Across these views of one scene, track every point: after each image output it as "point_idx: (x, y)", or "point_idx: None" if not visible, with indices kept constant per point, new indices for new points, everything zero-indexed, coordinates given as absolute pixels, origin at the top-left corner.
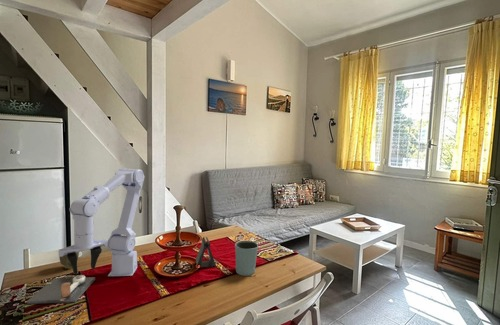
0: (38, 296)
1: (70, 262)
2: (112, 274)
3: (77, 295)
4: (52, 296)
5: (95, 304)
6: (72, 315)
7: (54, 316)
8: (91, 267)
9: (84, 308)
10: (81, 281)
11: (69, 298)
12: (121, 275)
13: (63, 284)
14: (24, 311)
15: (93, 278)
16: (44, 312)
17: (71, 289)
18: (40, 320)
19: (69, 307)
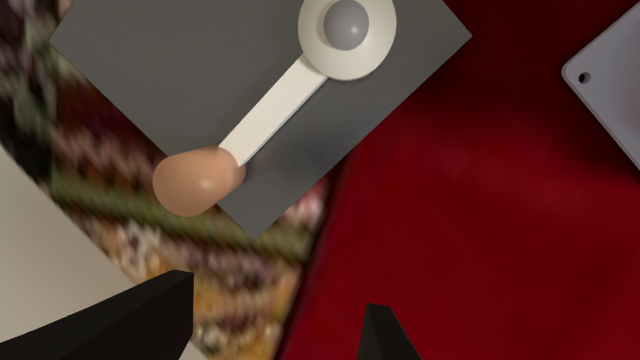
0: (102, 32)
1: (9, 343)
2: (595, 85)
3: (276, 208)
4: (166, 103)
5: (321, 327)
6: (216, 326)
7: (157, 274)
8: (364, 321)
9: (271, 318)
10: (347, 79)
11: (233, 205)
12: (627, 151)
13: (168, 173)
14: (55, 120)
15: (452, 49)
16: (128, 207)
17: (253, 152)
18: (108, 258)
19: (224, 256)
